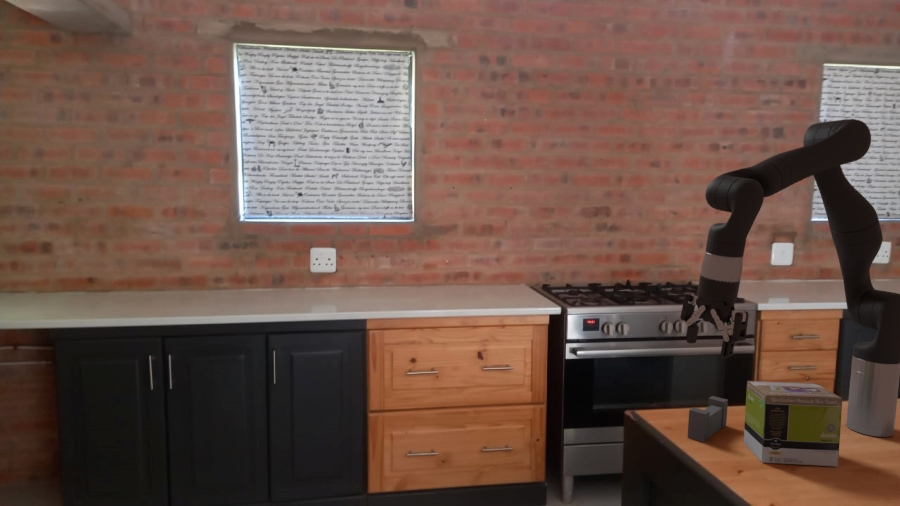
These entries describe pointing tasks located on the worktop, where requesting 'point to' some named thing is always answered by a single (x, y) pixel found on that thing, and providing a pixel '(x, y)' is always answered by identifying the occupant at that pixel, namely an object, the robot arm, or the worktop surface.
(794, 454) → the tea box
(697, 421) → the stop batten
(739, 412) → the worktop surface
